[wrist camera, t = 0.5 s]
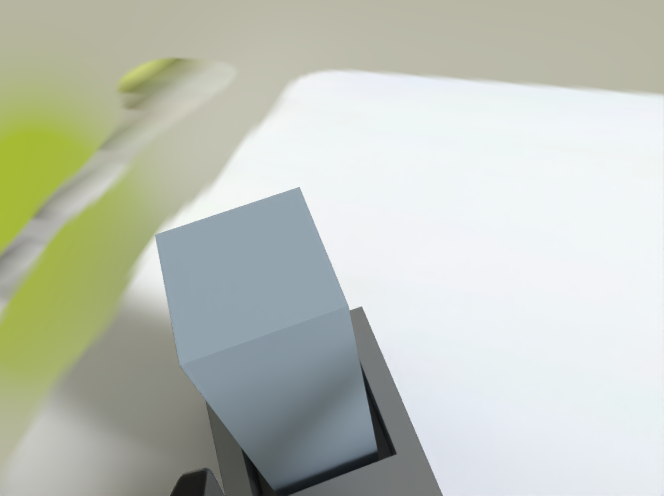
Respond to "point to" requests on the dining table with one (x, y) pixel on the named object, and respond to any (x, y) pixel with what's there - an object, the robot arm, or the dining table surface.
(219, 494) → the robot arm
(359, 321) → the gray slotted board
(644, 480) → the dining table surface
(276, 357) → the plug
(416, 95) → the dining table surface
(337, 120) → the dining table surface
